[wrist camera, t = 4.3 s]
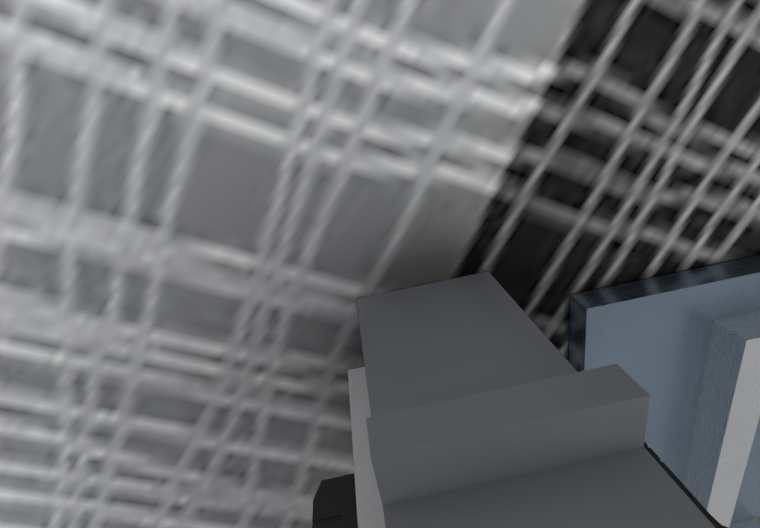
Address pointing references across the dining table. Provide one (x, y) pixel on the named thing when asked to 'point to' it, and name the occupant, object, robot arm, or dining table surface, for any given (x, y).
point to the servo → (502, 420)
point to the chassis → (688, 373)
